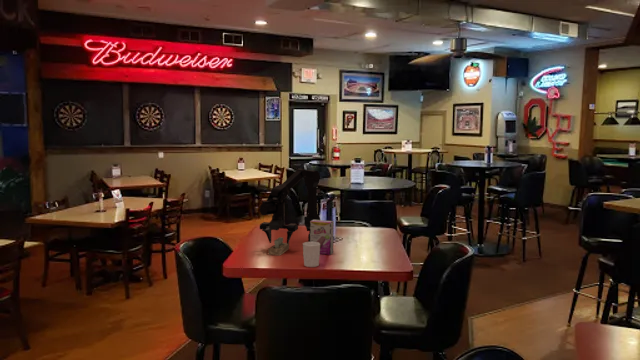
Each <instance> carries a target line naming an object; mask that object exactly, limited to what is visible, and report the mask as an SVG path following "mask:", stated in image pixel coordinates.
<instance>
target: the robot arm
mask: <svg viewBox="0 0 640 360" xmlns="http://www.w3.org/2000/svg"><path fill="white" fill-rule="evenodd" d="M320 178H321V174H320V172H319V171H318V170H311V169H305V168H297V169H296V170H295V172H293V173H292V174H291V175H290V176H289V177H288V178H286V179H285V181H284V182H282V183H281V184H278V185H276V186H274V187H273V188H272V189H271V190H270V193H269V195H268V197H267V199H266V201H265V200H263V201H261V204H260V206H259V213H260V215H261V216H270V215H271V220H270V221H269V222H267V221H263V222H261V223H260V224H259V230H261V231H262V232H264V233H265V235H266V237H267V239H268V242H269V244H271V243H272V231H279V230H280V229H281V230H282V229H283V230H287V231H286V243H287V244H288V243H289V244H290V240H291V238H292V235H293V233H294V232H296V231H298V230H299V225H298V224H297V223H289V224H286V221H285V217H286V214H285V204H288V201H287V200H286V198H287V196H289V194H290V191H291V189H293V187H294V186H295V185H297V184H298V183H299V182H300V181H301V180H302V179H303V181H304V183H305V185H306V187H307V214H306V216H304V219H303V220H304V223H303V224H304V226H305V228H306V229H305V230H306V231H307V232H308V237H307V240H308V241H307V242H310V221H311V220H321V217H320V216H319V213H318V185H319V184H320Z"/></svg>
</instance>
